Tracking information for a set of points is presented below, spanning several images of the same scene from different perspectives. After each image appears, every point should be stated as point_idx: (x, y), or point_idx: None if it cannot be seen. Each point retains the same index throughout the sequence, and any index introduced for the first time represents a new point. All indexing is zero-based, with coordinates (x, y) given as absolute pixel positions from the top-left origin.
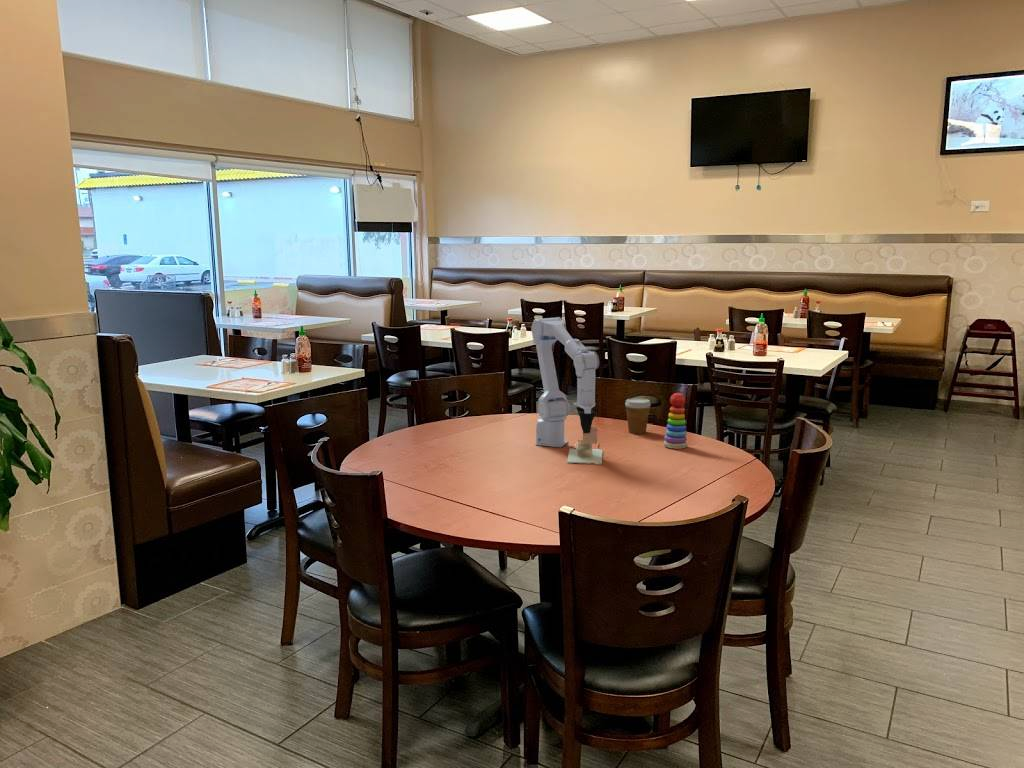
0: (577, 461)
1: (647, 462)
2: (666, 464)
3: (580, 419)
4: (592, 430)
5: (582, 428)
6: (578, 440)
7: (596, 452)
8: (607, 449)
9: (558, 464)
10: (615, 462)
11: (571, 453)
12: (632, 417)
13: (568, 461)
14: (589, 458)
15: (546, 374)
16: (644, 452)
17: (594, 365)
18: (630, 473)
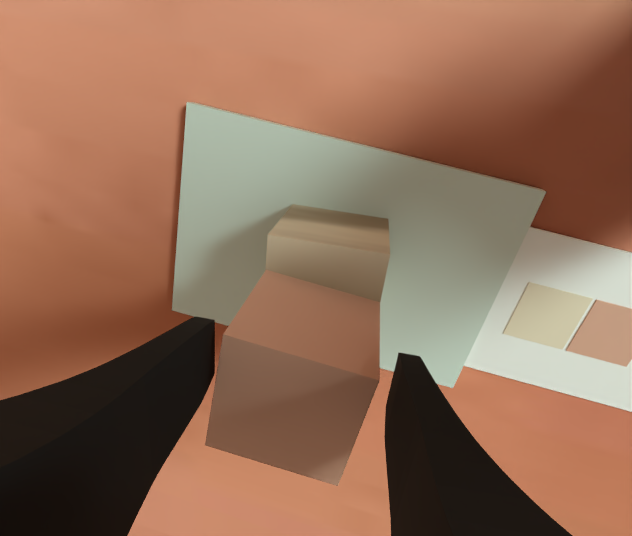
0: (189, 176)
1: (216, 486)
2: (188, 529)
3: (417, 421)
4: (211, 413)
5: (160, 335)
6: (379, 260)
7: (389, 339)
8: (484, 415)
9: (166, 28)
10: None
11: (395, 176)
12: None
13: (189, 112)
14: (257, 266)
15: None
16: (380, 531)
17: None
18: (46, 379)
